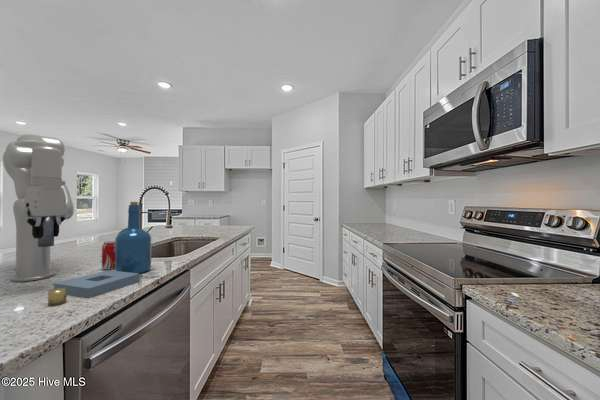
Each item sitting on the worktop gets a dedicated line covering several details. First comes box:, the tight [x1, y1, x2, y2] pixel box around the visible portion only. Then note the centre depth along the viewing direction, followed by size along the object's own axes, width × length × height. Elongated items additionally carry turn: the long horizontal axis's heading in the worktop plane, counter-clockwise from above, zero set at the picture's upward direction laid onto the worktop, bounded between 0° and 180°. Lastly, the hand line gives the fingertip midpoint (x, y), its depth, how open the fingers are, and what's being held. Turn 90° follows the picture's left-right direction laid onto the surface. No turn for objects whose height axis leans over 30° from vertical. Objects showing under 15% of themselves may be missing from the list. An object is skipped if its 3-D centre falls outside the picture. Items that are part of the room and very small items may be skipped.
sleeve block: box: [53, 270, 141, 299], centre depth 94 cm, size 16×18×3 cm
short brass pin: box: [47, 288, 67, 307], centre depth 78 cm, size 4×4×4 cm
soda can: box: [101, 240, 115, 271], centre depth 119 cm, size 7×7×12 cm
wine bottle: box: [114, 201, 152, 275], centre depth 114 cm, size 14×13×30 cm
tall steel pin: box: [38, 216, 55, 247], centre depth 91 cm, size 4×4×10 cm
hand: (46, 236), depth 91 cm, fingers closed on tall steel pin, 4 cm apart
